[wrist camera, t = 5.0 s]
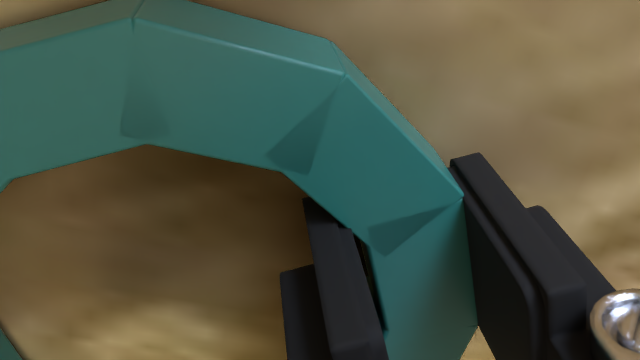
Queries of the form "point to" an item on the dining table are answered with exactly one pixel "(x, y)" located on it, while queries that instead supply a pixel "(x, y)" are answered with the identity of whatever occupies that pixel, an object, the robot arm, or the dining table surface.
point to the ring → (249, 138)
